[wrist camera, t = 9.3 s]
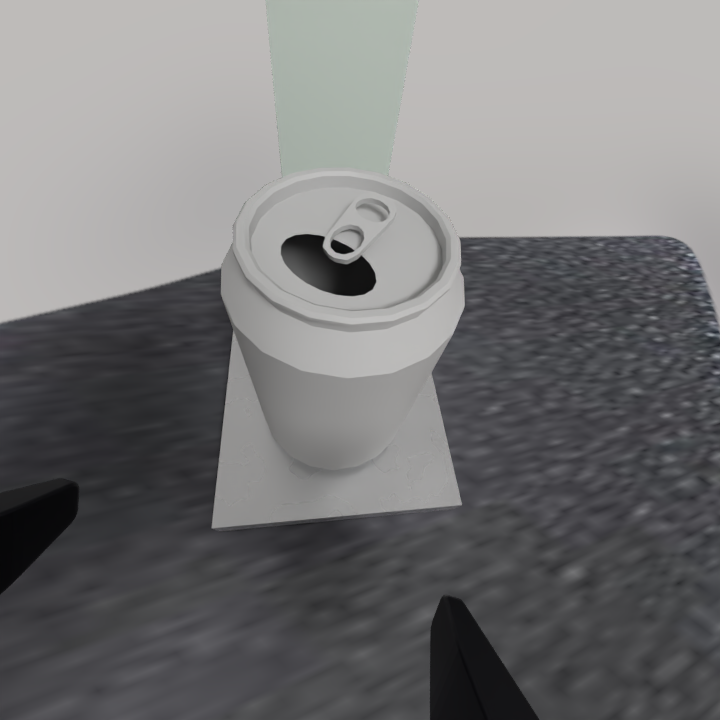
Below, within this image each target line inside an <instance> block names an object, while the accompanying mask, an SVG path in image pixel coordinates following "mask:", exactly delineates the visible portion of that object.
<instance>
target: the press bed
mask: <svg viewBox="0 0 720 720" xmlns="http://www.w3.org/2000/svg"><path fill="white" fill-rule="evenodd" d="M461 505H462V503H461V499H460V494H459V490H458V486H457V481H456V477H455V473H454V468H453V464H452V460H451V455H450V451H449V447H448V442H447V438H446V434H445V430H444V425H443V421H442V417H441V412H440V408H439V404H438V399H437V395H436V391H435V386H434V382H433V378H432V374H430V376H429V377H428V379H427V381H426V383H425V384H424V386H423V388H422V390H421V391H420V393H419V395H418V397H417V399H416V400H415V402H414V404H413V406H412V407H411V409H410V411H409V413H408V415H407V416H406V418H405V420H404V422H403V423H402V425H401V427H400V429H399V430H398V432H397V434H396V436H395V438H394V439H393V441H392V442H391V443H390V444H389V445H388V446H387V447H386V448H385V449H384V450H383V451H382V452H381V453H380V454H379V455H378V456H377V457H375V458H373V459H371V460H369V461H367V462H365V463H363V464H361V465H359V466H357V467H351V468H344V469H338V470H330V469H324V468H317V467H311V466H309V465H307V464H305V463H303V462H301V461H299V460H297V459H295V458H293V457H291V456H290V455H288V454H287V452H286V451H285V450H284V449H283V448H282V447H281V446H280V445H279V444H278V443H277V442H276V441H275V440H274V438H273V436H272V434H271V431H270V429H269V427H268V424H267V422H266V420H265V417H264V414H263V411H262V409H261V406H260V403H259V400H258V397H257V394H256V392H255V389H254V386H253V383H252V380H251V378H250V375H249V372H248V369H247V366H246V364H245V361H244V358H243V355H242V352H241V349H240V347H239V344H238V341H237V338H236V335H235V333H234V330H233V338H232V347H231V356H230V365H229V374H228V383H227V392H226V401H225V410H224V420H223V429H222V438H221V447H220V456H219V465H218V474H217V483H216V492H215V501H214V510H213V519H212V529H214V530H217V531H219V532H220V531H230V530H241V529H251V528H262V527H272V526H283V525H294V524H304V523H315V522H325V521H336V520H346V519H357V518H367V517H378V516H389V515H399V514H410V513H420V512H431V511H441V510H452V509H454V508H456V507H459V506H461Z"/></svg>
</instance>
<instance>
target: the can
mask: <svg viewBox="0 0 720 720" xmlns="http://www.w3.org/2000/svg"><path fill="white" fill-rule="evenodd" d="M460 266H461V247H460V239H459V237H458V235H457V233H456V231H455V229H454V226H453V224H452V222H451V220H450V218H449V217H448V216H447V215H446V214H445V213H444V212H443V211H442V210H441V209H440V208H439V207H438V205H437V204H435V202H434V201H432V199H431V198H430V197H428V196H427V195H425V194H423V193H422V192H420V191H419V190H417V189H415V188H414V187H412V186H410V185H409V184H407V183H406V182H403V181H400V180H397V179H395V178H392V177H389V176H387V175H384V174H381V173H378V172H372V171H367V170H361V169H355V168H350V167H345V168H315V169H310V170H305V171H300V172H295V173H291V174H289V175H286V176H284V177H282V178H280V179H277V180H276V181H273V182H271V183H269V184H266V185H265V186H264V187H263V188H262V189H260V190H259V191H258V192H257V193H256V194H254V195H253V196H252V197H251V198H250V199H249V200H248V201H246V202H245V203H244V205H243V207H242V209H241V211H240V213H239V215H238V217H237V218H236V221H235V222H234V224H233V243H232V245H231V247H230V249H229V251H228V253H227V255H226V257H225V259H224V261H223V263H222V269H221V296H222V299H223V302H224V304H225V307H226V310H227V313H228V316H229V319H230V321H231V324H232V327H233V330H234V333H235V335H236V338H237V341H238V344H239V347H240V349H241V352H242V355H243V358H244V361H245V364H246V366H247V369H248V372H249V375H250V378H251V380H252V383H253V386H254V389H255V392H256V394H257V397H258V400H259V403H260V406H261V409H262V411H263V414H264V417H265V420H266V422H267V424H268V427H269V429H270V431H271V434H272V436H273V438H274V440H275V441H276V442H277V443H278V444H279V445H280V446H281V447H282V448H283V449H284V450H285V451H286V452H287V454H288V455H290V456H291V457H293V458H295V459H297V460H299V461H301V462H303V463H305V464H307V465H309V466H311V467H317V468H324V469H330V470H338V469H344V468H351V467H357V466H359V465H361V464H363V463H365V462H367V461H369V460H371V459H373V458H375V457H377V456H378V455H379V454H380V453H381V452H382V451H383V450H384V449H385V448H386V447H387V446H388V445H389V444H390V443H391V442H392V441H393V439H394V438H395V436H396V434H397V432H398V430H399V429H400V427H401V425H402V423H403V422H404V420H405V418H406V416H407V415H408V413H409V411H410V409H411V407H412V406H413V404H414V402H415V400H416V399H417V397H418V395H419V393H420V391H421V390H422V388H423V386H424V384H425V383H426V381H427V379H428V377H429V376H430V374H431V372H432V370H433V368H434V367H435V365H436V363H437V361H438V360H439V358H440V356H441V354H442V352H443V351H444V349H445V347H446V345H447V344H448V342H449V340H450V338H451V337H452V335H453V333H454V330H455V328H456V326H457V323H458V321H459V318H460V316H461V313H462V311H463V309H464V306H465V302H464V278H463V276H462V273H461V271H460V269H459V268H460Z"/></svg>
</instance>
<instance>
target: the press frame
mask: <svg viewBox="0 0 720 720" xmlns="http://www.w3.org/2000/svg"><path fill="white" fill-rule="evenodd" d="M418 2H419V0H266V9H267V21H268V32H269V42H270V53H271V64H272V75H273V85H274V96H275V107H276V118H277V129H278V139H279V150H280V160H281V172H282V177H284V176H286V175H289V174H291V173H295V172H300V171H305V170H310V169H315V168H345V167H350V168H355V169H361V170H367V171H372V172H378V173H381V174H384V175H387V176H388V172H389V167H390V161H391V155H392V150H393V143H394V138H395V132H396V127H397V121H398V116H399V110H400V104H401V98H402V93H403V87H404V82H405V75H406V70H407V64H408V58H409V53H410V47H411V42H412V36H413V30H414V24H415V19H416V13H417V7H418Z"/></svg>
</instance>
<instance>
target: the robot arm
mask: <svg viewBox="0 0 720 720" xmlns="http://www.w3.org/2000/svg"><path fill="white" fill-rule="evenodd" d="M78 499H79V486H78V484H77V483H76V482H73V481H69V480H66V479H55V480H51V481H47V482H43V483H39V484H35V485H30V486H26V487H22V488H18V489H14V490H10V491H6V492H2V493H0V594H1V593H3V592H4V591H5V590H6V589H7V588H8V587H9V586H10V585H11V584H12V583H13V582H14V581H15V580H16V579H17V578H18V577H19V576H20V575H21V574H22V573H23V572H24V571H25V570H26V569H27V568H28V567H29V566H30V565H31V564H32V563H33V562H34V561H35V560H36V559H37V558H38V557H39V556H40V555H41V554H42V553H43V552H44V551H45V550H46V549H47V548H48V546H49V545H50V544H51V543H52V542H53V541H54V540H55V539H56V538H57V537H58V536H59V535H60V534H61V533H62V532H63V531H64V530H65V529H66V528H67V527H68V526H69V525H70V524H71V523H72V521H73V520H74V518H75V517H76V514H77V511H78ZM430 720H539V718H538V717H537V715H536V714H535V712H534V711H533V709H532V708H531V706H530V704H529V703H528V701H527V700H526V698H525V697H524V695H523V694H522V692H521V691H520V689H519V687H518V686H517V684H516V683H515V681H514V680H513V678H512V677H511V675H510V673H509V672H508V670H507V669H506V667H505V666H504V664H503V663H502V661H501V660H500V658H499V656H498V655H497V653H496V652H495V650H494V649H493V647H492V646H491V644H490V643H489V641H488V639H487V638H486V636H485V635H484V633H483V632H482V630H481V629H480V627H479V626H478V624H477V622H476V621H475V619H474V618H473V616H472V615H471V613H470V612H469V610H468V608H467V607H466V605H465V604H464V602H463V601H462V600H461V599H459V598H456V597H452V596H449V595H443V596H442V598H441V600H440V603H439V605H438V608H437V610H436V613H435V616H434V618H433V621H432V625H431V637H430Z"/></svg>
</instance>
